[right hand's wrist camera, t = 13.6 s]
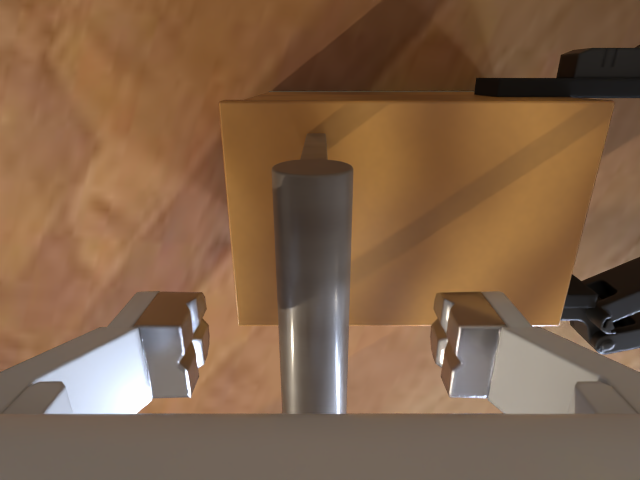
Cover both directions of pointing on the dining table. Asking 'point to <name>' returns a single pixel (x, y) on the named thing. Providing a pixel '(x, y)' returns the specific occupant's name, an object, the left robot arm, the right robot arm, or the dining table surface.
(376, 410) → the dining table surface
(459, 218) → the lid
